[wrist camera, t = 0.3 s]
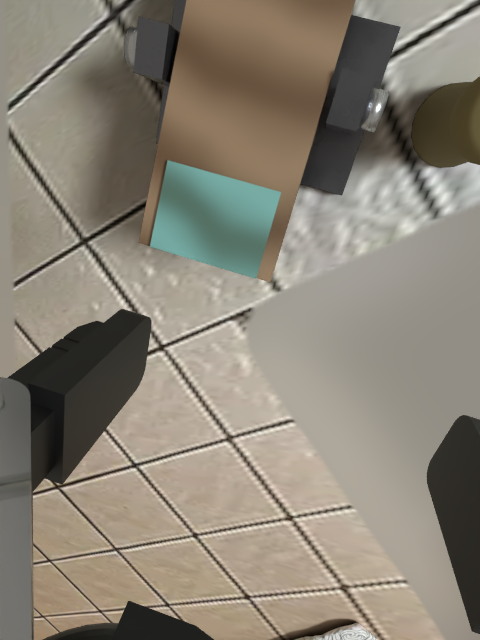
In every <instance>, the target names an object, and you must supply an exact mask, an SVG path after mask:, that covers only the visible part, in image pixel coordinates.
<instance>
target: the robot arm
mask: <svg viewBox="0 0 480 640" xmlns="http://www.w3.org/2000/svg"><path fill="white" fill-rule="evenodd" d="M150 332H151V319H150V317H147V316H144V315H141V314H137V313H134V312H131V311H128V310H124V309H121V310H119V311H118V312H117V313H116V314H114V315H113V316H112V317H111V318H109V319H108V320H107V321H105V322H104V323H103V322H99V321H95V322H91V323H88V324H85V325H82V326H79V327H77V328H76V329H74V330H73V331H71V332H70V333H69V334H67V335H66V336H65V337H64V339H60V340H59V341H58V342H56V343H55V344H53V345H52V348H50V347H49V348H48V349H47V350H45V351H44V352H42V353H41V354H40V355H38V356H37V357H36V358H34V359H33V360H31V361H30V362H29V363H27V364H26V365H25V366H23V367H22V368H20V369H19V370H18V371H16V372H15V373H14V374H12V375H11V376H9V377H8V378H1V377H0V640H34V594H33V493H32V492H33V491H34V490H35V489H36V488H37V486H38V485H39V484H40V483H41V482H42V481H43V479H44V478H45V479H48V480H51V481H54V482H56V483H59V484H63V483H64V482H65V480H66V479H67V478H68V477H69V475H70V474H71V473H72V471H73V470H74V469H75V468H76V466H77V465H78V464H79V462H80V461H81V460H82V459H83V457H84V456H85V455H86V453H87V452H88V451H89V450H90V448H91V447H92V446H93V445H94V443H95V442H96V441H97V439H98V438H99V437H100V436H101V434H102V433H103V432H104V430H105V429H106V428H107V427H108V425H109V424H110V423H111V421H112V420H113V419H114V418H115V416H116V415H117V414H118V412H119V411H120V410H121V409H122V407H123V406H124V405H125V403H126V402H127V401H128V400H129V398H130V397H131V396H132V395H133V393H134V392H135V391H136V389H137V388H138V386H139V384H140V382H141V380H142V377H143V375H144V371H145V367H146V360H147V353H148V346H149V339H150ZM427 484H428V488H429V491H430V494H431V497H432V501H433V504H434V508H435V511H436V514H437V517H438V521H439V524H440V527H441V531H442V534H443V537H444V540H445V544H446V547H447V551H448V554H449V557H450V560H451V564H452V567H453V570H454V574H455V577H456V580H457V584H458V587H459V590H460V593H461V596H462V600H463V603H464V606H465V610H466V613H467V617H468V620H469V623H470V626H471V630H472V631H473V632H475V633H478V634H480V420H479V419H476V418H473V417H469V416H466V415H462V416H460V417H459V418H458V419H457V420H456V421H455V422H454V424H453V425H452V427H451V428H450V430H449V432H448V434H447V435H446V436H445V438H444V440H443V441H442V443H441V444H440V446H439V448H438V449H437V451H436V452H435V454H434V456H433V457H432V459H431V461H430V463H429V466H428V471H427ZM43 640H214V639H213V638H211V637H210V636H209V635H207V634H206V633H205V632H203V631H202V630H201V629H199V628H198V627H197V626H195V625H192V624H189V623H187V622H184V621H181V620H179V619H176V618H173V617H171V616H168V615H165V614H163V613H160V612H157V611H155V610H152V609H149V608H147V607H144V606H141V605H139V604H136V603H133V602H131V601H128V603H127V605H126V607H125V610H124V612H123V614H122V617H121V619H120V621H119V623H100V624H91V625H85V626H81V627H76V628H72V629H68V630H65V631H63V632H60V633H58V634H55V635H52V636H50V637H47V638H45V639H43Z"/></svg>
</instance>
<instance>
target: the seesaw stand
mask: <svg viewBox="0 0 480 640" xmlns="http://www.w3.org/2000/svg"><path fill="white" fill-rule="evenodd" d="M185 5H186V0H175V4H174V11H173V19H172V26H171V25H170V24H167V23H163V22H159V21H155V20H151V19H147V18H143V17H139V20H138V28H137V27H133V26H132V27H130V28H129V29H128V31H127V33H126V37H125V42H124V54H125V60H126V63H127V65H128V67H129V68H132V69H134V70H133V72H134V73H137V74H139V75H142V76H144V77H146V78H149V79H151V80H154V81H156V82H158V83H161V84H163V85H164V88H163V95H162V103H161V110H160V118H159V126H158V133H157V141H156V144H158V142H159V137H160V132H161V127H162V122H163V117H164V112H165V106H166V101H167V96H168V91H169V86H170V81H171V76H172V71H173V66H174V61H175V56H176V51H177V46H178V41H179V36H180V31H181V26H182V20H183V15H184V10H185ZM399 30H400V27H399V26H395V25H390V24H386V23H382V22H378V21H374V20H370V19H365V18H361V17H357V16H353V15H351V17H350V20H349V24H348V27H347V30H346V34H345V37H344V40H343V44H342V47H341V50H340V53H339V57H338V60H337V63H336V67H335V70H334V73H333V77H332V80H331V83H330V87H329V90H328V93H327V97H326V100H325V103H324V107H323V110H322V113H321V116H320V120H319V123H318V126H317V130H316V133H315V136H314V140H313V143H312V146H311V150H310V153H309V156H308V160H307V163H306V166H305V170H304V173H303V176H302V179H301V183H300V184H303V185H306V186H310V187H313V188H317V189H320V190H324V191H328V192H331V193H335V194H338V195H342V194H343V191H344V188H345V185H346V183H347V180H348V177H349V174H350V171H351V168H352V165H353V162H354V159H355V157H356V154H357V151H358V148H359V145H360V142H361V139H362V136H363V134H364V131H365V130H367V131H371V132H375V130H376V128H377V126H378V124H379V122H380V119H381V117H382V114H383V111H384V108H385V105H386V102H387V99H388V95H389V91H385V90H381V89H379V87H380V85H381V82H382V79H383V76H384V73H385V70H386V67H387V64H388V61H389V59H390V56H391V53H392V50H393V47H394V44H395V41H396V38H397V35H398V33H399Z"/></svg>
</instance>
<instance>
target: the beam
mask: <svg viewBox="0 0 480 640" xmlns="http://www.w3.org/2000/svg"><path fill="white" fill-rule="evenodd" d="M354 4H355V0H186V5H185V10H184V15H183V20H182V26H181V31H180V36H179V41H178V46H177V51H176V56H175V61H174V66H173V71H172V76H171V81H170V86H169V91H168V96H167V101H166V106H165V112H164V117H163V122H162V127H161V132H160V137H159V142H158V147H157V152H156V157H155V162H154V167H153V172H152V177H151V182H150V187H149V192H148V198H147V203H146V208H145V213H144V218H143V223H142V228H141V233H140V238H139V243H142V244H145V245H148V246H150V247H153V248H156V249H159V250H163V251H166V252H169V253H173V254H176V255H179V256H183V257H186V258H189V259H192V260H196V261H199V262H202V263H206V264H209V265H212V266H216V267H219V268H222V269H226V270H229V271H232V272H236V273H239V274H242V275H246V276H249V277H252V278H258V279H261V280H265V281H268V282H270V281H271V279H272V276H273V272H274V269H275V266H276V262H277V259H278V256H279V252H280V249H281V246H282V242H283V239H284V236H285V232H286V229H287V226H288V223H289V219H290V216H291V213H292V209H293V206H294V203H295V199H296V196H297V193H298V189H299V186H300V183H301V179H302V176H303V173H304V170H305V166H306V163H307V160H308V156H309V153H310V150H311V146H312V143H313V140H314V136H315V133H316V130H317V126H318V123H319V120H320V116H321V113H322V110H323V107H324V103H325V100H326V97H327V93H328V90H329V87H330V83H331V80H332V77H333V73H334V70H335V67H336V63H337V60H338V57H339V53H340V50H341V47H342V44H343V40H344V37H345V34H346V30H347V27H348V24H349V20H350V17H351V14H352V10H353V7H354Z"/></svg>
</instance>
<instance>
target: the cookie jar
mask: <svg viewBox="0 0 480 640" xmlns="http://www.w3.org/2000/svg"><path fill="white" fill-rule="evenodd" d="M295 640H378V639H377V638H376V637H375V636H374V635H373V634H372V633H370V632H369V631H368V630H367V629H365V628H364V627H363V626H362V625H360V624H359V623H354V624H352V625H348V626H343V627H338V628H336V629H333V630H331V631H328V632H326V633H324V634H323V635H319V636H316V635H315V636H313V637H302V638H299V639H295Z"/></svg>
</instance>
